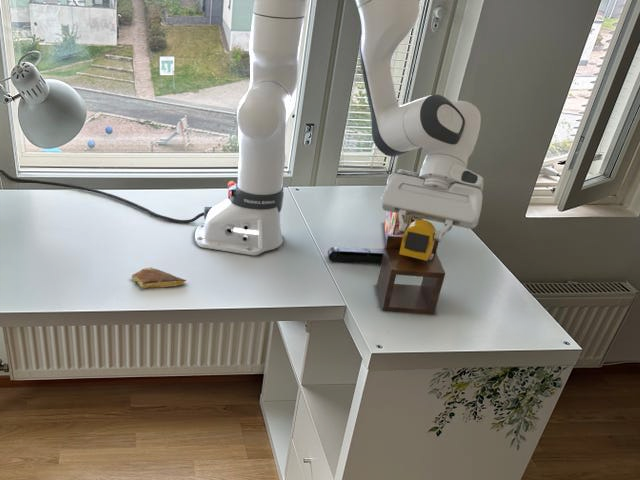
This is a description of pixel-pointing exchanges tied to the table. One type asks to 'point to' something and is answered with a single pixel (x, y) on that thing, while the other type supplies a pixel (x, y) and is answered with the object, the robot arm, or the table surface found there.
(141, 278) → the shard
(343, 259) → the tablet stand
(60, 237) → the table surface
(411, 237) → the tape measure
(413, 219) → the stack of blocks
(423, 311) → the shelf
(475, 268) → the table surface
